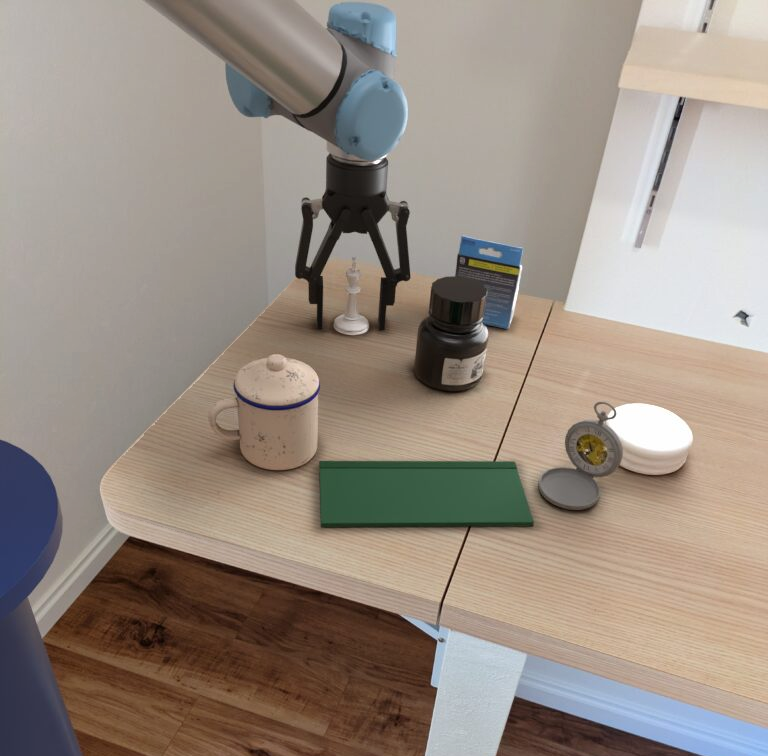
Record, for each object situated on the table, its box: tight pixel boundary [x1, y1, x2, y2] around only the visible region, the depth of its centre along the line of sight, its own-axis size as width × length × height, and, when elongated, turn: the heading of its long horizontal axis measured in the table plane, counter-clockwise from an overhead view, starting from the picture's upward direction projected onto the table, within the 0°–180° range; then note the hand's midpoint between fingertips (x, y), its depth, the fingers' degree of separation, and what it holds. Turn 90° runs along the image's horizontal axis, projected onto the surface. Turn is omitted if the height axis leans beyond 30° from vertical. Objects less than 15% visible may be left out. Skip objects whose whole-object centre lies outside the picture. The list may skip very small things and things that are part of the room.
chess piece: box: [333, 257, 370, 336], centre depth 108 cm, size 5×5×10 cm
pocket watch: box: [538, 401, 623, 511], centre depth 85 cm, size 8×8×10 cm
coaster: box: [603, 403, 694, 476], centre depth 93 cm, size 10×10×4 cm
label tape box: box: [454, 234, 524, 330], centre depth 111 cm, size 9×4×12 cm, turn 72°
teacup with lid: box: [208, 353, 321, 471], centre depth 86 cm, size 12×9×12 cm
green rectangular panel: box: [318, 460, 535, 528], centre depth 85 cm, size 22×10×1 cm, turn 94°
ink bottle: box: [413, 275, 490, 392], centre depth 100 cm, size 10×9×12 cm
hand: (350, 324), depth 111 cm, fingers open, 8 cm apart
